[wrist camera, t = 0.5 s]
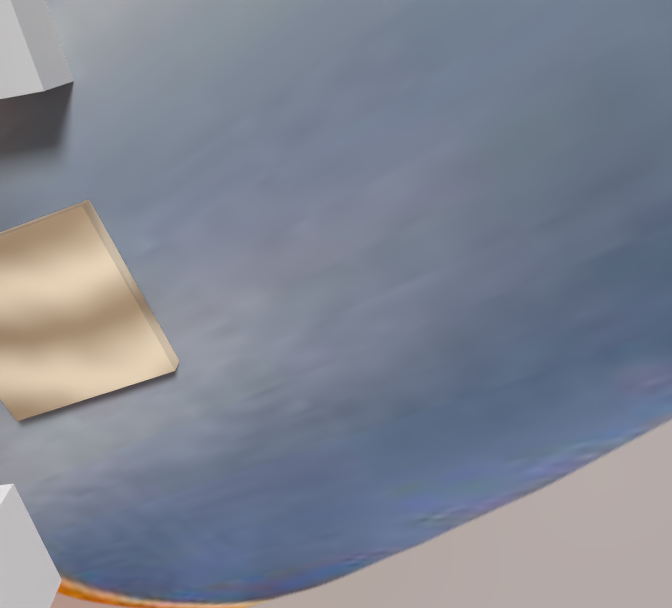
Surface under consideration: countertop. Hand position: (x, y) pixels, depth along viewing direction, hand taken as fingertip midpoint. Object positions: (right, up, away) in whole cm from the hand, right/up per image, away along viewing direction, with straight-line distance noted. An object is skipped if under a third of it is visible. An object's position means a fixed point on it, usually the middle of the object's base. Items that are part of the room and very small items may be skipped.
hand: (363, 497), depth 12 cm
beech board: (-19, +3, +27) cm, 33 cm away
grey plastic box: (-18, +18, +20) cm, 32 cm away
